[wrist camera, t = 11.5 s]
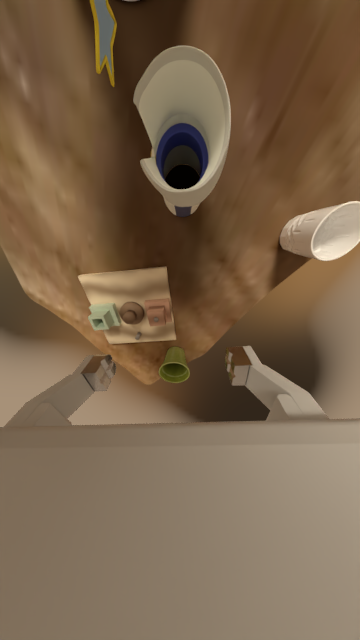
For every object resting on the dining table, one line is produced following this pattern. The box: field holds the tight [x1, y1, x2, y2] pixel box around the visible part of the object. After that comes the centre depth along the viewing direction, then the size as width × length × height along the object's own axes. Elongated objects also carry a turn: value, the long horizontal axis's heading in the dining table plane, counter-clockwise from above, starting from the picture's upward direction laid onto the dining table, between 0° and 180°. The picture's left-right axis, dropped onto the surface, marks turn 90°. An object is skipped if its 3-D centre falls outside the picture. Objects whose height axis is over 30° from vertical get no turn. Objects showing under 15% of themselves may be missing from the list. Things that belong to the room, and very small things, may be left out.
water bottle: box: [90, 0, 231, 217], centre depth 17 cm, size 8×9×25 cm
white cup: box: [280, 201, 360, 261], centre depth 26 cm, size 8×8×10 cm
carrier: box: [78, 266, 176, 344], centre depth 38 cm, size 22×22×7 cm
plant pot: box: [159, 347, 190, 383], centre depth 46 cm, size 9×9×9 cm
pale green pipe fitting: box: [88, 303, 122, 330], centre depth 38 cm, size 6×6×5 cm
